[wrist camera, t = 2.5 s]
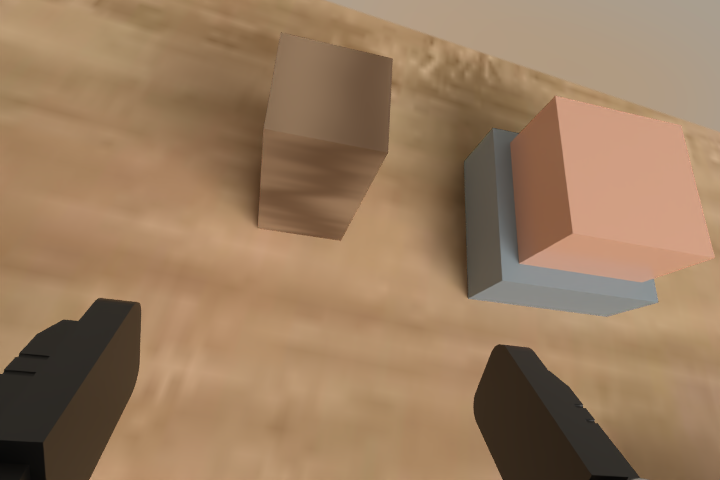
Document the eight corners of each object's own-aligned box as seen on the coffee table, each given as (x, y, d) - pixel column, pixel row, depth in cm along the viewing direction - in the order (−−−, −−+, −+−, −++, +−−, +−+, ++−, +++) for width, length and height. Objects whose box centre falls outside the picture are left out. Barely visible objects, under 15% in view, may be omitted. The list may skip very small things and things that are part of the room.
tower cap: (518, 263, 25) (572, 233, 20) (510, 142, 28) (555, 95, 24) (641, 282, 26) (714, 257, 22) (620, 165, 29) (681, 125, 25)
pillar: (257, 228, 26) (263, 128, 17) (269, 156, 28) (280, 32, 19) (340, 240, 27) (388, 152, 18) (347, 170, 29) (392, 58, 20)
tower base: (465, 300, 28) (502, 280, 24) (461, 164, 32) (492, 127, 28) (602, 317, 30) (658, 302, 26) (583, 187, 34) (629, 156, 30)
